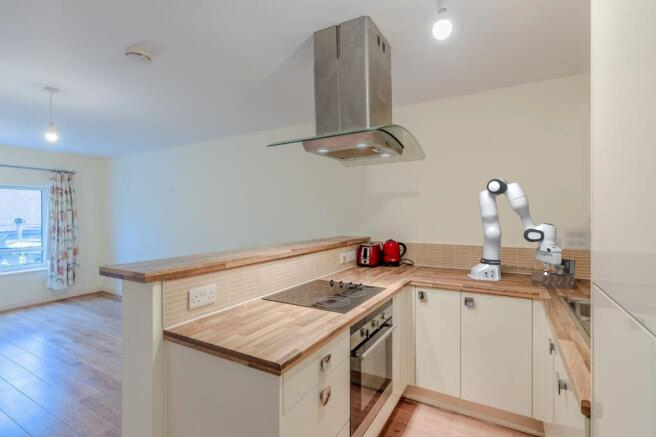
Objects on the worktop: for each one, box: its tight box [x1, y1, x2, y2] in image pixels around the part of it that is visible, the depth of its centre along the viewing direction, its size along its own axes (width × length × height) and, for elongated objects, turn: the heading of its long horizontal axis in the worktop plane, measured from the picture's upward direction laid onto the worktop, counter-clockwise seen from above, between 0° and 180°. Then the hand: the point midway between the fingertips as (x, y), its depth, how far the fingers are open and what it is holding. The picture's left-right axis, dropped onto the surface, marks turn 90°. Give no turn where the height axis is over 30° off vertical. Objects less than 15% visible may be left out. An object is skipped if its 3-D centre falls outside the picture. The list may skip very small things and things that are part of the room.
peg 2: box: [553, 264, 565, 275], centre depth 202 cm, size 6×6×9 cm
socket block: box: [531, 271, 575, 290], centre depth 203 cm, size 20×10×8 cm, turn 88°
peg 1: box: [540, 267, 553, 275], centre depth 203 cm, size 6×6×9 cm
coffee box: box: [560, 257, 576, 285], centre depth 214 cm, size 9×6×16 cm
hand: (546, 269), depth 202 cm, fingers closed, pressing on peg 1
